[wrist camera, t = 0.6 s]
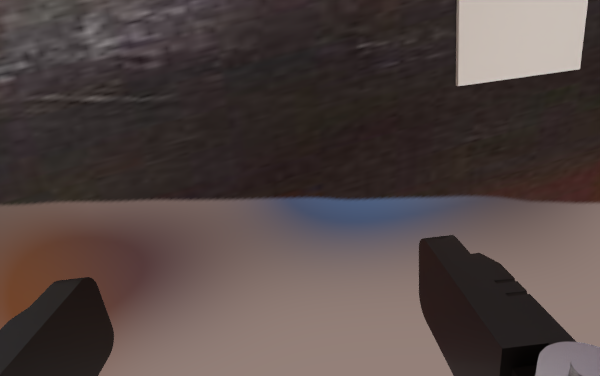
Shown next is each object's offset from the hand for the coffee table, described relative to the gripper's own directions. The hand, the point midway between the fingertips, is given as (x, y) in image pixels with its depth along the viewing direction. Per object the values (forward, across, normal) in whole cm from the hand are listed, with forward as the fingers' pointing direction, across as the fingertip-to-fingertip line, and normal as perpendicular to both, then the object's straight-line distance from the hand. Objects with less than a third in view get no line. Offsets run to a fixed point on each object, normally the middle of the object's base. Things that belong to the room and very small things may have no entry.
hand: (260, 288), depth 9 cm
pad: (+28, -22, -6) cm, 36 cm away
